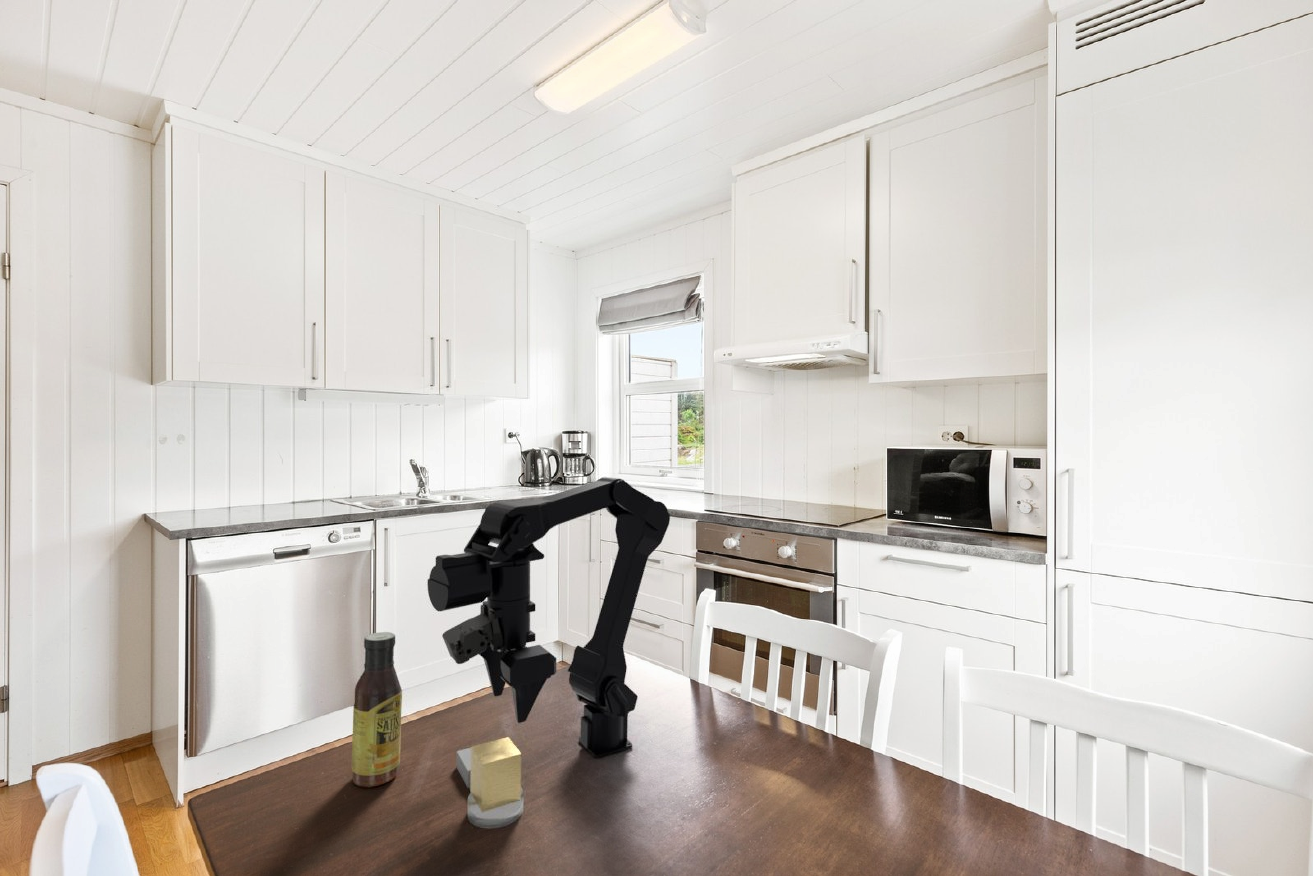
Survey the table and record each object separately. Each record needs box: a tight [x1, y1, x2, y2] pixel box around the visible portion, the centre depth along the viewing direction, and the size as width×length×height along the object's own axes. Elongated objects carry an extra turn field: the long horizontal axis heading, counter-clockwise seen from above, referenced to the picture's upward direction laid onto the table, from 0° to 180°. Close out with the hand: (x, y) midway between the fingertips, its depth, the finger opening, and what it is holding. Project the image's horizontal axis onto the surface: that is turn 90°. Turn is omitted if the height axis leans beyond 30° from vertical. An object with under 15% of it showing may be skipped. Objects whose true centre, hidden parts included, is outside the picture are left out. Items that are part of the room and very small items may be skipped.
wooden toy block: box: [470, 736, 522, 812], centre depth 81 cm, size 5×5×6 cm
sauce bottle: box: [350, 631, 403, 788], centre depth 88 cm, size 7×6×20 cm
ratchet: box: [455, 747, 524, 830], centre depth 85 cm, size 16×7×6 cm, turn 32°
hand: (509, 708), depth 86 cm, fingers open, 9 cm apart
